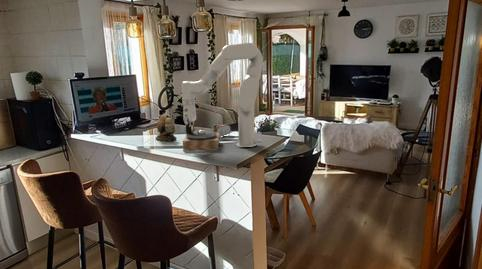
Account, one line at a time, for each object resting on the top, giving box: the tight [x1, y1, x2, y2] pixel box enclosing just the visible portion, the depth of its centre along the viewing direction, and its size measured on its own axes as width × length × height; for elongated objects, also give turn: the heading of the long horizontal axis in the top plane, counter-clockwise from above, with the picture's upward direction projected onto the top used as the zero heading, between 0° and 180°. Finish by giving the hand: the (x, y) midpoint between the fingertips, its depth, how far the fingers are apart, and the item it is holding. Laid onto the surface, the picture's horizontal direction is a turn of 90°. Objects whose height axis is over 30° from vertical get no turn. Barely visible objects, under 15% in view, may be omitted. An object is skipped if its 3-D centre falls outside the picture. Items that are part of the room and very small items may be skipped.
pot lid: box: [185, 125, 216, 139], centre depth 208 cm, size 18×18×6 cm
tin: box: [213, 123, 232, 137], centre depth 233 cm, size 15×3×8 cm, turn 141°
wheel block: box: [182, 133, 220, 152], centre depth 210 cm, size 20×20×6 cm
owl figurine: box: [155, 113, 177, 143], centre depth 228 cm, size 18×12×17 cm, turn 47°
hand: (190, 132), depth 209 cm, fingers closed on pot lid, 4 cm apart
